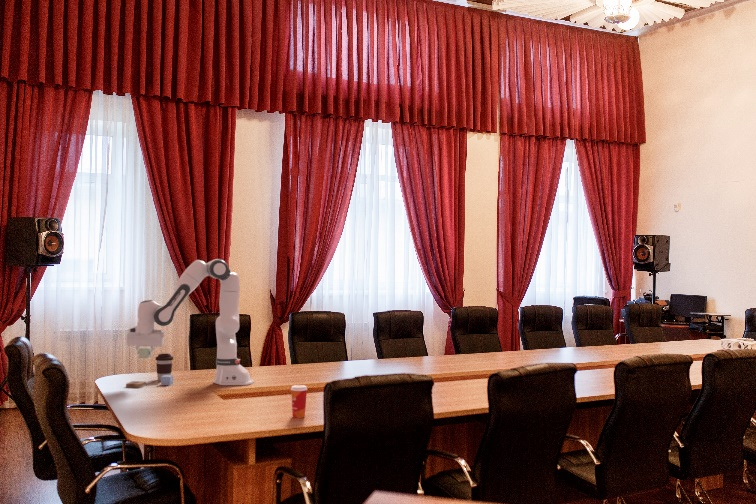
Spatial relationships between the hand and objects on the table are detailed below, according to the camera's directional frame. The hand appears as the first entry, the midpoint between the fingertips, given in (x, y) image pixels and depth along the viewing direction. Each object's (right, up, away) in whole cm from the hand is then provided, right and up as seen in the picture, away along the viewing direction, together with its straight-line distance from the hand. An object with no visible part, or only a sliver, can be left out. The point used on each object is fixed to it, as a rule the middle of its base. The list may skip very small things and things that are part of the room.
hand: (144, 354), depth 385 cm
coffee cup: (+4, -18, +21) cm, 28 cm away
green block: (0, -2, 0) cm, 2 cm away
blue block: (+10, -18, +7) cm, 22 cm away
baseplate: (-5, -18, +1) cm, 19 cm away
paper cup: (+93, -19, -66) cm, 115 cm away
